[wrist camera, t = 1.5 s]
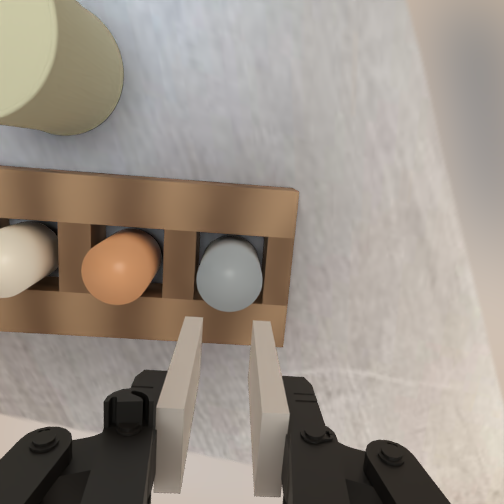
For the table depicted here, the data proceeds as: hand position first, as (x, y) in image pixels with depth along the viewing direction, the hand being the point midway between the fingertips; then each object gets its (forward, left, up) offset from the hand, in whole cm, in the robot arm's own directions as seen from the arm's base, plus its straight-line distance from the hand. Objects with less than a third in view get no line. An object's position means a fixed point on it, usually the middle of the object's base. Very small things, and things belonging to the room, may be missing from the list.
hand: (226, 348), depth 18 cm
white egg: (-15, 0, -15) cm, 21 cm away
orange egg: (-8, 0, -15) cm, 16 cm away
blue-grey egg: (0, 0, -15) cm, 15 cm away
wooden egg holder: (-7, 0, -16) cm, 18 cm away
